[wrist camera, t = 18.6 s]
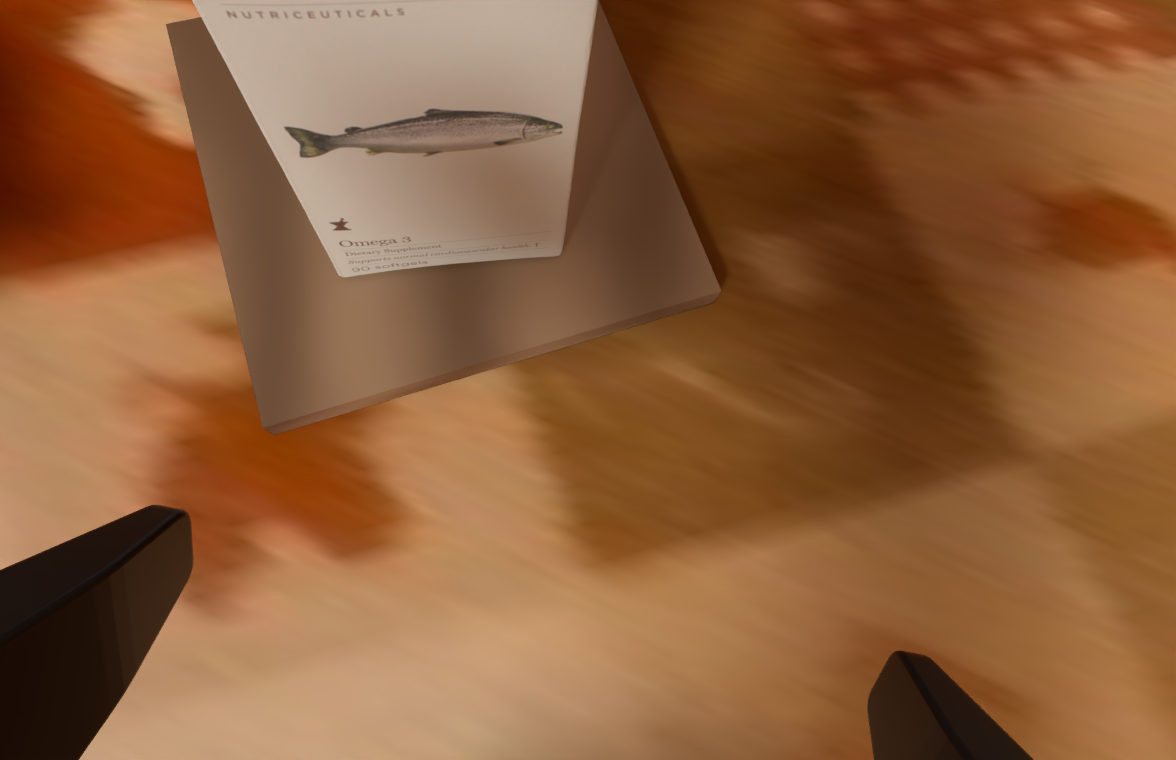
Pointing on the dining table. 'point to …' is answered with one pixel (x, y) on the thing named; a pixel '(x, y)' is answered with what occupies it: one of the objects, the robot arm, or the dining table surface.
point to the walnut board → (443, 292)
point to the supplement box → (417, 120)
